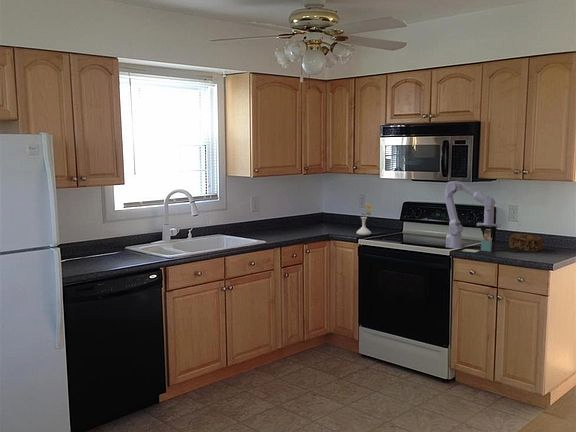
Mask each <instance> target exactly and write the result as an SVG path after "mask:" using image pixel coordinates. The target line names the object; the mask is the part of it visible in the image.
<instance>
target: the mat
mask: <svg viewBox="0 0 576 432" xmlns="http://www.w3.org/2000/svg"><path fill="white" fill-rule="evenodd" d="M480 251H481V249H472V248H471V249H469V248H465V249H463V250H461V252H467V253H468V252H469V253H477V252H480Z"/></svg>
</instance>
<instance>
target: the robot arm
mask: <svg viewBox="0 0 576 432" xmlns="http://www.w3.org/2000/svg"><path fill="white" fill-rule="evenodd" d="M459 191H463V192H465V193H466V194H468V195H470V196H472V197H473V200H475V201H476V202H479V203H480V204H482V205H483V207H484V210H483V211H484V212H483V213H484V214H483V217H484V218H483V222H477V223H476V227H479V229H480V230H481V233H482V236H483V239H484V230H487V227H488V228H490V230H491V239H492V240H493V239H494V235H495V232H496V231H497V230H498V229H500V228H501V227H502V226H501V224H499V223H494V217H495V211H494V210H495V205H496V200H495V199H494V198H493V197H490V196H489V195H486V194H485V193H484V192H483V191H479V190H478V191H475V190H473V188H471V187H469V186H468V185H466V184H464V183H463V182H461V181H460V180H459V181H458V180H454V181H449V182H447V184H446V185H445V190H444V194H443V197H444V200H445V205H446V206H445V207H446V209H447V210H446V211H447V213H448V218H449V223H448V225H449V228H448V232H449V233H447V234H446V236H445V248H450V249H461V248H463V246H462V236H463V235H462V232H463V231H464V227H463V225H462V224H461V221H460V220H459V217H458V213H457V209H456V205H455V200H454V195H455V193H456V192H459Z"/></svg>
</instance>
